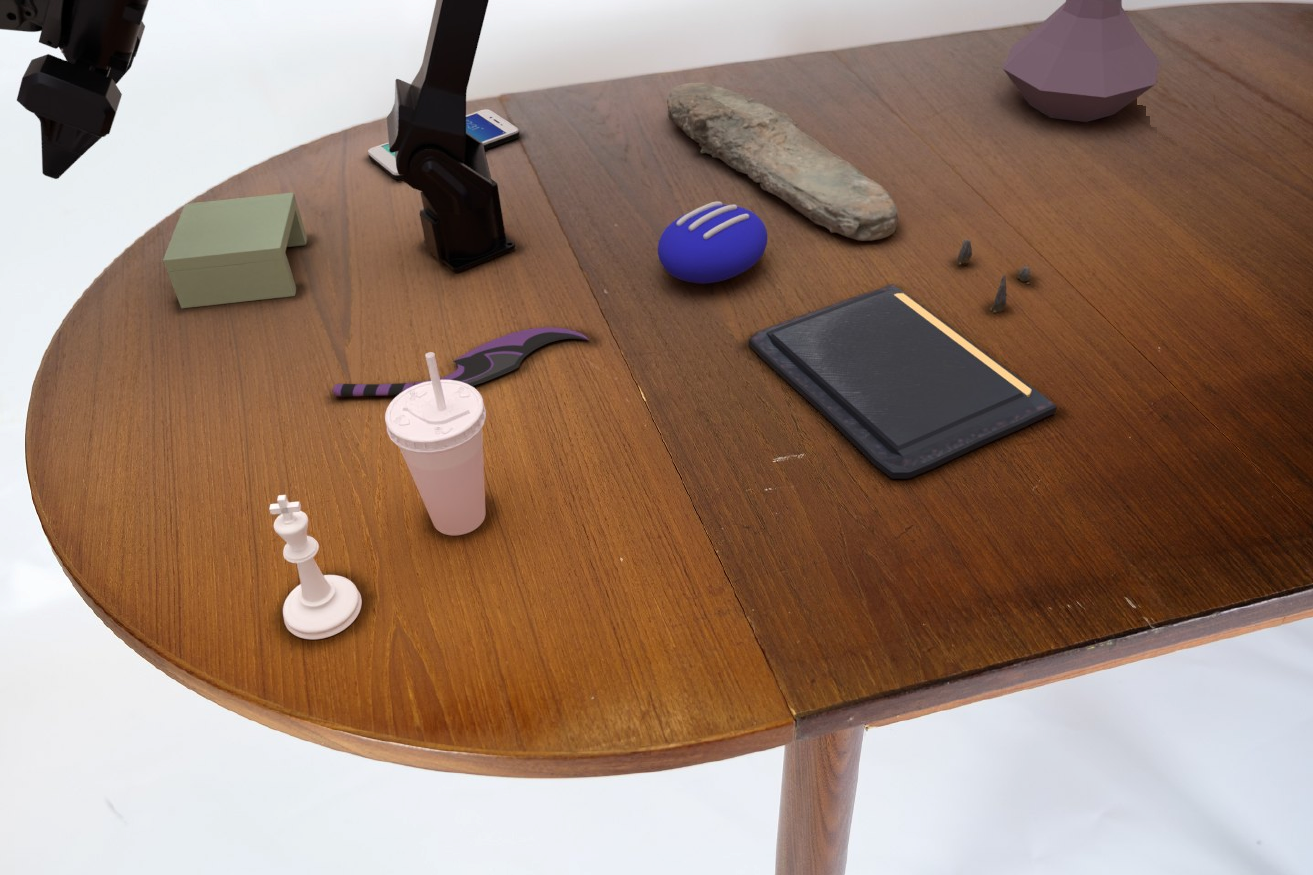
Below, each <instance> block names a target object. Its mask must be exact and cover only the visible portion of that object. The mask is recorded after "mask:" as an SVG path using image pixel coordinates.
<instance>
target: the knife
mask: <svg viewBox="0 0 1313 875" xmlns="http://www.w3.org/2000/svg"><path fill="white" fill-rule="evenodd" d="M567 339H568V340H569V339H573V340H584V341H585V340H586V341H589V342H590V341H591V339H589V338H588V337H587V336H586V335H585V334H583V333H581V332H578V331H575V330H572V329H569V328H562V327H553V326H551V327H550V326H549V327H548V326H547V327H546V326H545V327H534V328H528V329H524V330H523V329H522V330H519V331H515V332H511V333H508V334H505V335H503V336H500V337H497V338H494V339H492V340H490V341H487V342H485V343H483V344H481V345H479V346H476V347H475V348H473V349H471V350H470V351H467V352H466V353H464V354H462V355H461V356H459V357H457V358H456V359H454V360H453V363H455V365H457V369H456V370H455V371H453V372H451V373H449V374H447V375H446V376H444V377H440V380H455V381H460V382H463V383H466V384H468V385H470V386H472V387H474V386H476V385H479V384H483V383H486V382H488V381H491V380H493V379H495V378H498V377H501V376H503V375H506V374H509V373H510V372H512V371H514V370H517V369H518V368H520V366H521V364H522V361H523V360H524V358H526V357H527V356H528V355H529V354H530V353H532V352H534V351H535V350H537V349H539V348H540V347H543V346H545V345H547V344H551V343H552V342H557V341H561V340H567ZM427 381H428V380H424V381H423V380H422V381H416V382H415V381H414V382H402V383H401V382H400V383H399V382H398V383H336V384H334V386H333V388H332V393H333V395H334V396H335V397H372V396H373V397H374V396H375V397H376V396H378V397H379V396H398V395H399V394H400V393H402V392H403V391H405V390H406V389H408V388H410V387H412V386H414V385H417V384H420V383H423V382H427ZM429 381H431V379H430V380H429Z"/></svg>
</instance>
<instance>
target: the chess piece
mask: <svg viewBox="0 0 1313 875" xmlns="http://www.w3.org/2000/svg"><path fill="white" fill-rule="evenodd" d="M276 502H277V503H270V504H269V508H268V509H269V512H270V515H278V516H277V517H276V518H275V519H274V522H273V530H274V531H275V533H276V534H277V535H278V536H279V537H280V538H281V539H283V541H284V542H285V543H286V544H285V545H284V546H283V553H282V555H283V558H284V560H285V561H287V562H289V563H292V564H296V567H297V572H298V576H299V577H298V578H299V582H300V583H299V584H298V585H296V586H295V588H293V589H292V591H290V593H289V594H288V595H287V597H286V598H285V601H284V603H283V606H282V616H283V622H284V625H285V627H286V629H287V631H289V632H290V633H291V634H292V635H294V636H295V637H298V638H301V639H304V640H321V639H326V638H330V637H332V636H335V635H337V634H339V633H341V632H343V631H344V630H346V629H347V628H348V627H350V626H351V625H352V624H353V623H354V622H355V620H356V619H357V618H358V616H359V614H360V612H361V609H362V605H363V604H362V603H363V601H362V596H361V593H360V591H359V590H358V587H357V586H356V585H355V583H354V582H353V581H351V579H349V578H347V577H345V576H341V575H337V574H323V572H322V571H321V569H320V566H318V563H317V562H316V560H315V559H314V557H315V556H316V555H317V554H318V553H319V552H318V551H319V549H320V545H319V542H318V541H317V540H316V538H314V537H312V536H311V535H308V528H309V517H308V515H307V514H306V512H305V511H302V510H301V509H302V505H301V502H300V501H289V500H288V497H287V494H280V495H277V499H276Z"/></svg>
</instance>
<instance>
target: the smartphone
mask: <svg viewBox="0 0 1313 875" xmlns="http://www.w3.org/2000/svg"><path fill="white" fill-rule="evenodd" d="M466 132H467V133H469V134H470V135H472V136H473V137H475V138H476V139H478V140H479V141H481V142H482V143H483V145H484V149H485V150H488V149H491V148H493V147H496V146H500V145H502V144H504V143H508V142H510V141H513V140H515V139H516V140H517V139H519V137H520V129H519V128H518V127H517V126H515V125H513V123H511V122H509V121H507V120H506V119H505V118H503V117H502V116H500V115H498V114H497V113H495V112H494V111H492V110H491V109H488V108H487V109H486V108H484V109H481V110H478V111H474V112H472V113H469V114H466ZM367 157H368V158H369V159H370V160H371V161H372V162H373V163H374V164H376V165H377V166H378V167H380V169H382V170H383V171H384V172H386V174H388V175H389V176H391V177H392V178H393V179H394V180H397V181H402V180H403V179H402V178H401V176H400V175H399V174H398V171H397V167H396V159H395V152H393V153H391V152H390V151H389V141H388V142H385V143H382V144H379V145H376V146H373V147H370V148H369V149H368V150H367Z"/></svg>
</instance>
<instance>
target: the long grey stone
mask: <svg viewBox="0 0 1313 875" xmlns="http://www.w3.org/2000/svg"><path fill="white" fill-rule="evenodd" d="M666 104H667V117H668V119H669V120H670V121H674V123H675V124H676V126H678V127H679V128H680V129H681V130H682V131H683V132H684V133H685V134H686V136H687V137H688V138H690V139H691V140H694V142H695V143H698V146H699V148H701V149H700V153H701V154H708V155H710V156H711V158H714V159H720V160H721V161H722V162H724V163H725V164H726V165H727V166H728V167H730V168H731V169H734V170H735V171H736V172H738V173H742V174H745V175H747V176H748V178H749V179H751V180H752V181H753V182H754V183H758V184H759V187H760V188H761V190H763V191H765V192H768V193H769V194H771V195H774V196H776V197H777V198H779V199H781V200H782V201H783V202H785V203H786V204H788V205H789V206H790V207H791V208H793V209H794V210H796V211H797V212H798V213H799V214H801V215H803V216H804V217H806V218H807V219H808V220H810V221H811V222H813V224H815V225H817V226H821V227H823V228H826V229H827V230H829V232H830V233H836V234H838V235H841V236H842V237H846V238H850V239H852V240H856V241H859V242H860V241H861V242H862V241H863V242H864V241H866V242H867V241H870V242H871V241H876V240H882V239H884V238H888V237H890V236H891V235H893V234H894V233H895V231H896V229H897V226H898V223H899V220H900V219H899V209H898V207H897V206H896V203H895V201H894V199H893V198H892V197H891V194H890V193H889V191H887V190H886V189H885V187H884V186H882V185H881V184H880V183H879V182H877V181H875V180H874V179H872V178H869V177H867V176H866V175H864V174H863V173H862V172H861V171H860V170H859V169H857V168H856V167H855V166H854V165H853V164H852V163H850V162H848V161H847V160H845V159H843V158H842V156H840V155H837V154H835V153H833V152H831V151H830V150H829V149H828V148H826V147H825V146H823V145H822V144H821V143H819V142H818V141H817V140H816V139H815V138H814V137H812V136H811V135H809V134H807V133H805V132H804V131H802V130H801V129H800V128H799V127H798V124H797V122H795V121H794V120H793V119H792V118H791V117H790V115H789V114H788V113H787V112H784V111H778V110H777V109H775V108H773V107H771V106H768V105H767V104H766V103H765V102H762V101H760V100H757V99H756V97H751V96H750V97H747V96H746V95H744V94H742V93H738V92H736V91H733V90H730V89H727V88H725V87H720V86H718V85H714V84H712V83H708V82H689V83H683V84H679V85H677V86H675V87H674V88H673V89H672V91H671V92H669V96H668V97H667V99H666Z"/></svg>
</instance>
